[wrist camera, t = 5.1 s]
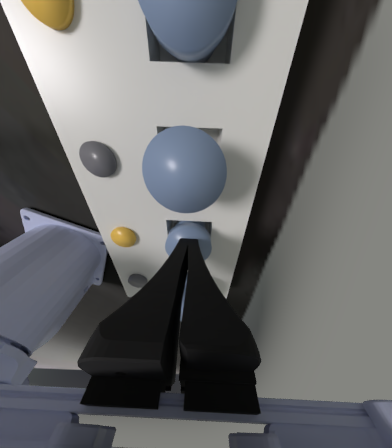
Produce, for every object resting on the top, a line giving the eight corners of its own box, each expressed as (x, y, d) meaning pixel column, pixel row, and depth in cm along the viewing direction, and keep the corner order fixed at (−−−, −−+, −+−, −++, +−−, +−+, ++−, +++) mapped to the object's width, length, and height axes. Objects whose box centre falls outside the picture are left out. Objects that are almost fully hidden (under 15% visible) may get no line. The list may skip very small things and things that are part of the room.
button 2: (208, 240, 15) (209, 265, 12) (173, 238, 15) (167, 263, 12) (211, 209, 13) (213, 230, 10) (170, 207, 13) (162, 228, 10)
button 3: (215, 191, 10) (221, 214, 7) (163, 189, 10) (149, 212, 7) (222, 128, 8) (234, 126, 5) (157, 126, 8) (133, 123, 5)
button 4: (223, 78, 8) (234, 51, 5) (160, 76, 8) (139, 48, 5) (234, -39, 6) (263, -181, 3) (151, -41, 6) (110, -182, 3)
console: (223, 282, 19) (226, 303, 17) (135, 278, 19) (126, 299, 17) (311, -109, 5) (394, -289, 3) (3, -116, 6) (-140, -295, 3)
